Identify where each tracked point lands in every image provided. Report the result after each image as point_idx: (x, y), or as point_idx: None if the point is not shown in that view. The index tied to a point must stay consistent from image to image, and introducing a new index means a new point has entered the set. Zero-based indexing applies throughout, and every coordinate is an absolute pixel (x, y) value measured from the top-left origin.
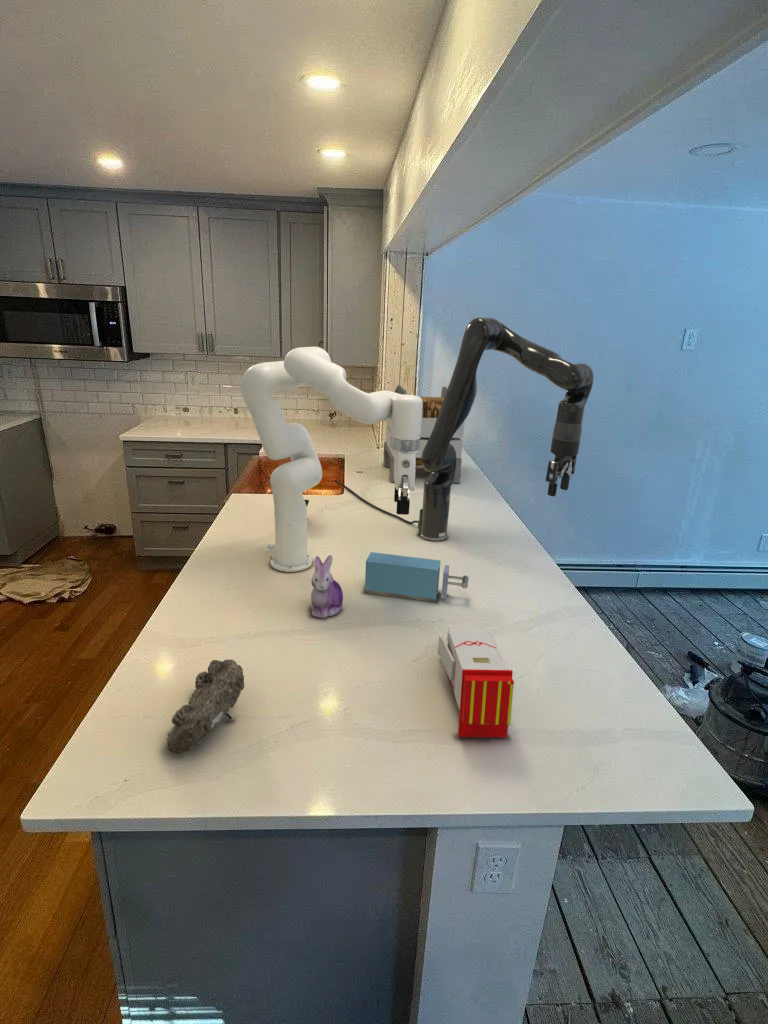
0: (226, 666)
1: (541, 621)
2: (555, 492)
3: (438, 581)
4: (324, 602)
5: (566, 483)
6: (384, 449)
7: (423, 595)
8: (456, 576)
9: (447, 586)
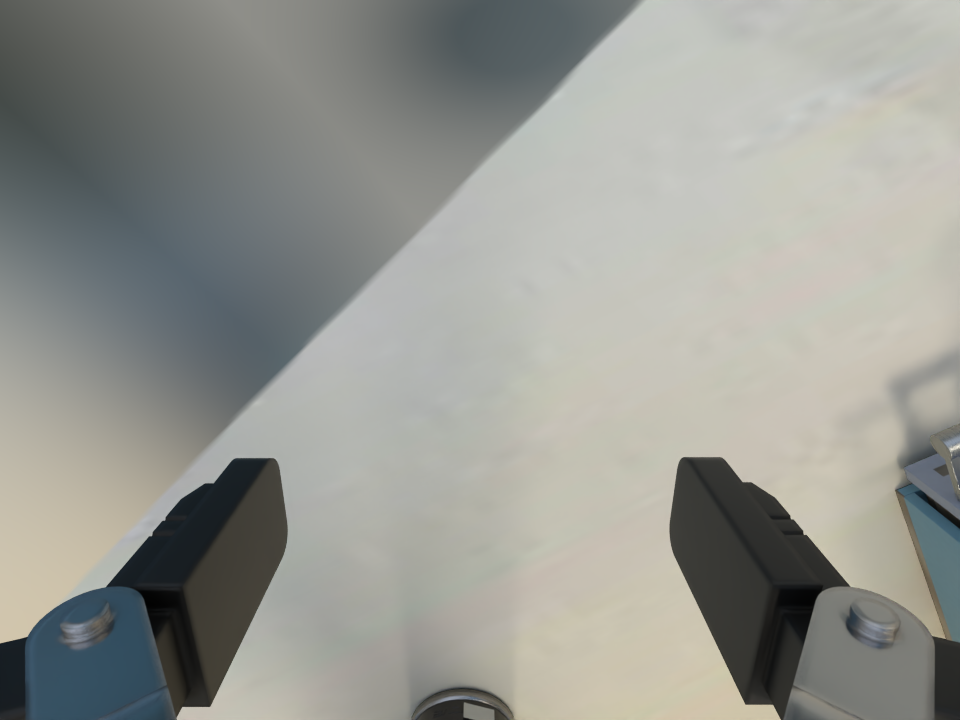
0: None
1: (929, 61)
2: (736, 483)
3: None
4: None
5: (239, 536)
6: None
7: None
8: (958, 479)
9: (936, 475)
